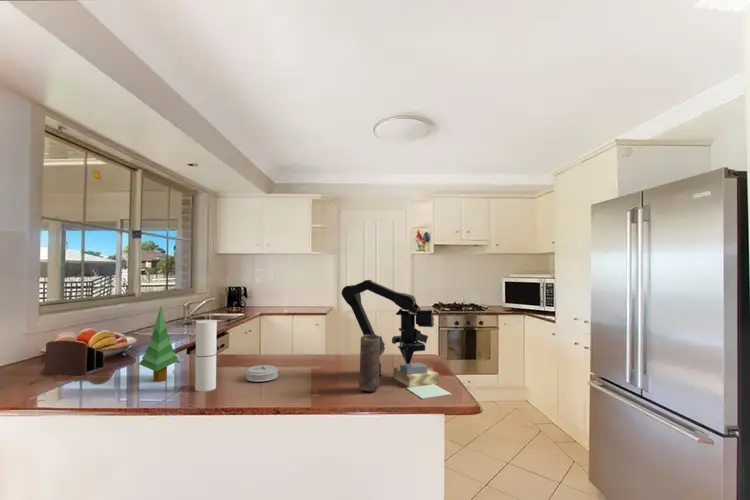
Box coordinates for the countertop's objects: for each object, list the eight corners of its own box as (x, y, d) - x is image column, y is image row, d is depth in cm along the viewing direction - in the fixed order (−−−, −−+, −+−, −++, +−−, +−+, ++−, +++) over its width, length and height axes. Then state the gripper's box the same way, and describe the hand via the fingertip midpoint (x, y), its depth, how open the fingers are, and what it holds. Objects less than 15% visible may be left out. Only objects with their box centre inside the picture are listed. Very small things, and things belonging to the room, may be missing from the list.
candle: (382, 388, 151) (382, 334, 151) (376, 394, 144) (376, 338, 144) (363, 386, 153) (363, 333, 154) (356, 392, 146) (356, 337, 147)
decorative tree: (132, 380, 160) (133, 305, 160) (173, 372, 171) (174, 302, 172) (144, 388, 150) (145, 308, 151) (187, 379, 162) (188, 304, 162)
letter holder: (85, 376, 167) (85, 341, 167) (43, 373, 170) (44, 340, 170) (104, 369, 177) (105, 337, 177) (65, 367, 180) (65, 335, 180)
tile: (407, 374, 154) (406, 368, 155) (400, 370, 160) (400, 364, 160) (427, 372, 158) (427, 366, 158) (420, 368, 163) (420, 362, 164)
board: (409, 387, 151) (409, 377, 152) (393, 377, 164) (393, 367, 164) (439, 383, 156) (439, 373, 156) (421, 374, 169) (421, 364, 169)
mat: (422, 399, 139) (422, 398, 139) (406, 388, 150) (406, 387, 150) (451, 394, 144) (451, 393, 144) (434, 384, 155) (434, 384, 155)
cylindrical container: (195, 392, 146) (196, 323, 146) (194, 387, 152) (195, 320, 153) (217, 389, 149) (217, 322, 149) (214, 384, 155) (215, 319, 156)
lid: (238, 381, 160) (238, 368, 160) (261, 373, 172) (261, 361, 172) (262, 385, 154) (262, 372, 155) (284, 377, 166) (284, 365, 166)
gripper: (437, 328, 159) (437, 368, 158) (414, 321, 176) (414, 357, 175) (411, 330, 154) (412, 371, 154) (391, 323, 172) (391, 359, 171)
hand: (408, 364), depth 164 cm, fingers closed
